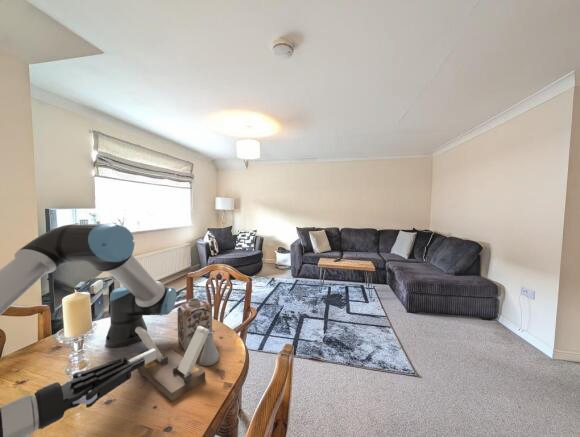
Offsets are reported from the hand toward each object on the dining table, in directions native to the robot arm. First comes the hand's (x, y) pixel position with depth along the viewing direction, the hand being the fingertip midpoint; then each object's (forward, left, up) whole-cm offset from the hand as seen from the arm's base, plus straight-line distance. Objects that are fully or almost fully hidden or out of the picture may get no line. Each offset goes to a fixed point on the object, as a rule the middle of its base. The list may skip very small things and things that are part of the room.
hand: (154, 353), depth 67 cm
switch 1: (-16, -6, -11) cm, 21 cm away
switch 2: (-6, +5, -11) cm, 14 cm away
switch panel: (-11, 0, -14) cm, 18 cm away
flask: (-17, +11, -14) cm, 25 cm away
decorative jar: (-32, +2, -14) cm, 35 cm away
